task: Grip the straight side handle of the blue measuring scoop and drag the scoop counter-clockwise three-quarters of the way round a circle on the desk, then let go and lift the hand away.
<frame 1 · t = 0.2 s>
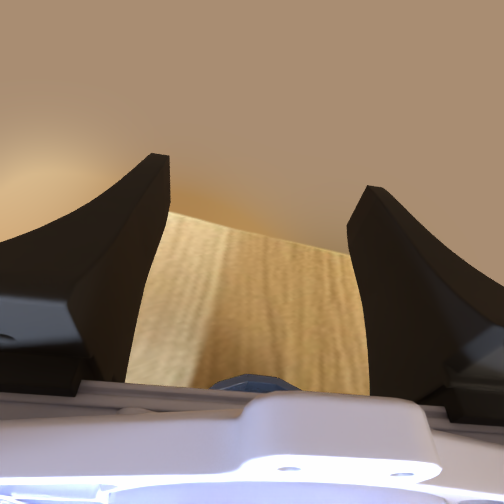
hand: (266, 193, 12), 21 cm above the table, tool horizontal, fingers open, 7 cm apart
blue measuring scoop: (249, 480, 24), on the table
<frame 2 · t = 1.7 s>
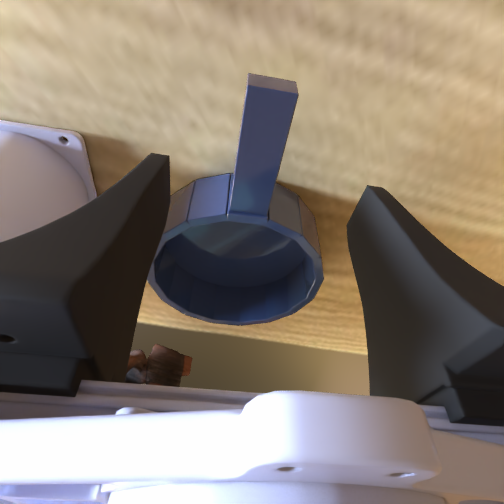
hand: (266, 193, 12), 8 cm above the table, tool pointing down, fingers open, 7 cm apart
blue measuring scoop: (237, 240, 26), on the table
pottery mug: (151, 354, 41), on the table
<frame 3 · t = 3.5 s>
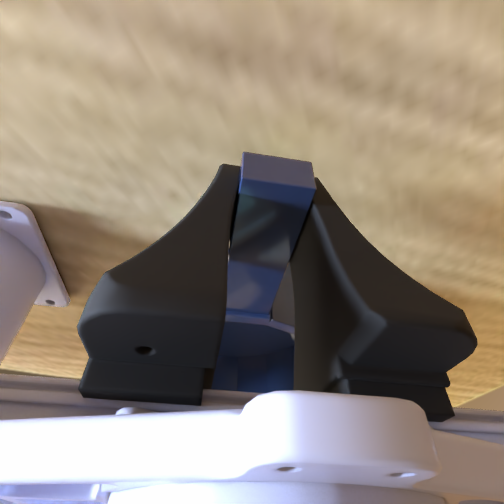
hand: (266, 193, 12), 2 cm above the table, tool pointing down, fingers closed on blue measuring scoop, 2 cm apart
blue measuring scoop: (232, 311, 21), on the table, touching gripper
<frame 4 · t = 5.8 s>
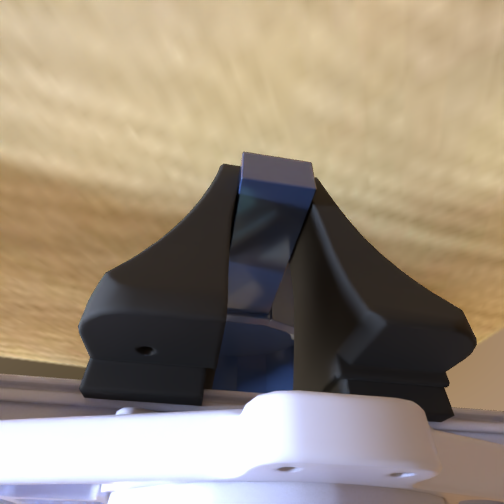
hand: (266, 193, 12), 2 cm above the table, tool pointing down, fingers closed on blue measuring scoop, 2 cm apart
blue measuring scoop: (232, 311, 21), on the table, touching gripper
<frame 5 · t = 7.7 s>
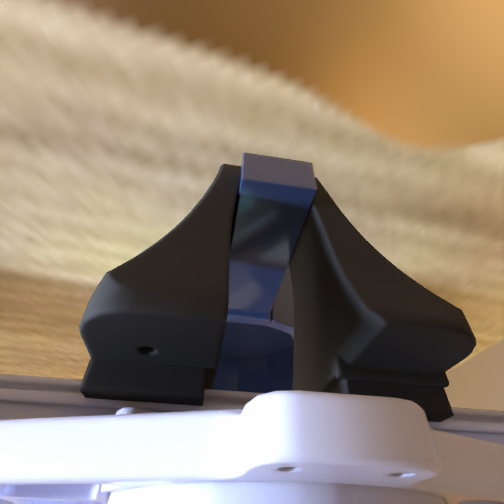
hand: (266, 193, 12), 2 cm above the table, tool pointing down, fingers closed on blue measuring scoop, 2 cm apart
blue measuring scoop: (233, 312, 21), on the table, touching gripper
when the fingers open (2 cm above the table, at t = 8.4 s): blue measuring scoop stays where it is, on the table.
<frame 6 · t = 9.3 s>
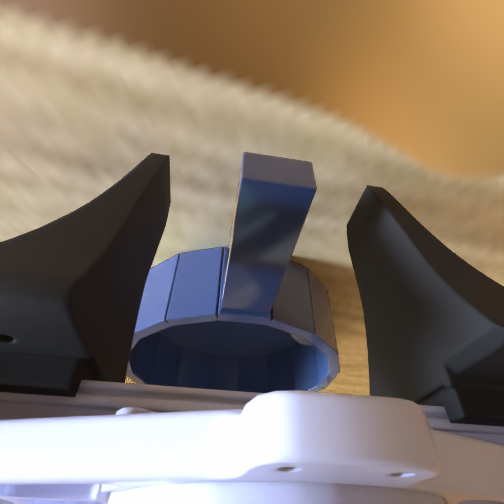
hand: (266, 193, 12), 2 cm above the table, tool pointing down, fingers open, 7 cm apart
blue measuring scoop: (233, 311, 21), on the table
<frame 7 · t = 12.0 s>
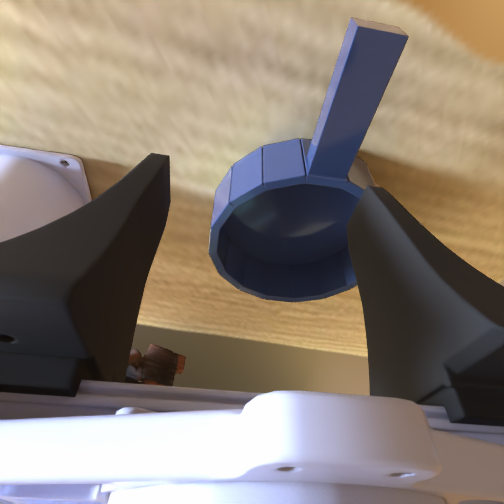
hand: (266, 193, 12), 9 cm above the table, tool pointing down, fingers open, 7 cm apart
blue measuring scoop: (294, 213, 25), on the table
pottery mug: (147, 353, 44), on the table
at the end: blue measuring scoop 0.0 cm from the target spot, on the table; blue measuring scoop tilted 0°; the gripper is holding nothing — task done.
